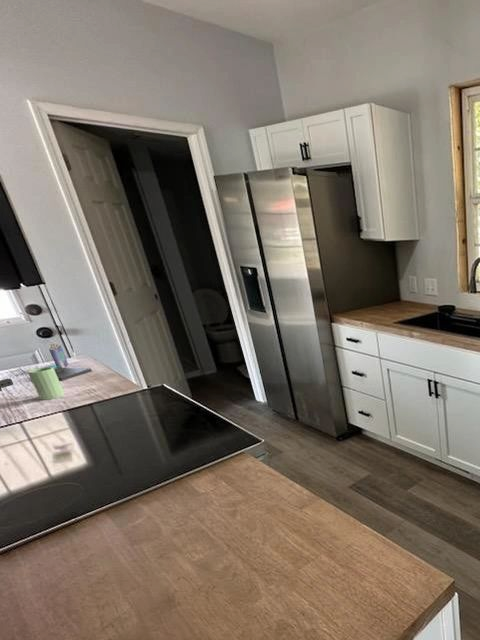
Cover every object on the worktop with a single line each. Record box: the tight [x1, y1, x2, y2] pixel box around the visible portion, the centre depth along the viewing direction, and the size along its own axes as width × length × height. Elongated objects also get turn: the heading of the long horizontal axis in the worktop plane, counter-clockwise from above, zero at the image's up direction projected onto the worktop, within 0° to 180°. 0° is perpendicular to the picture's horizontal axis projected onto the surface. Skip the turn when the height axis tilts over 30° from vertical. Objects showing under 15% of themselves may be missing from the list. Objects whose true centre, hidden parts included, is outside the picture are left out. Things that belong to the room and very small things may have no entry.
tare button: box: [45, 364, 57, 369], centre depth 164 cm, size 3×3×2 cm
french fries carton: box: [48, 342, 69, 368], centre depth 174 cm, size 9×3×11 cm, turn 38°
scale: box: [54, 366, 93, 382], centre depth 165 cm, size 13×11×3 cm
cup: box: [27, 366, 66, 401], centre depth 143 cm, size 6×6×10 cm
